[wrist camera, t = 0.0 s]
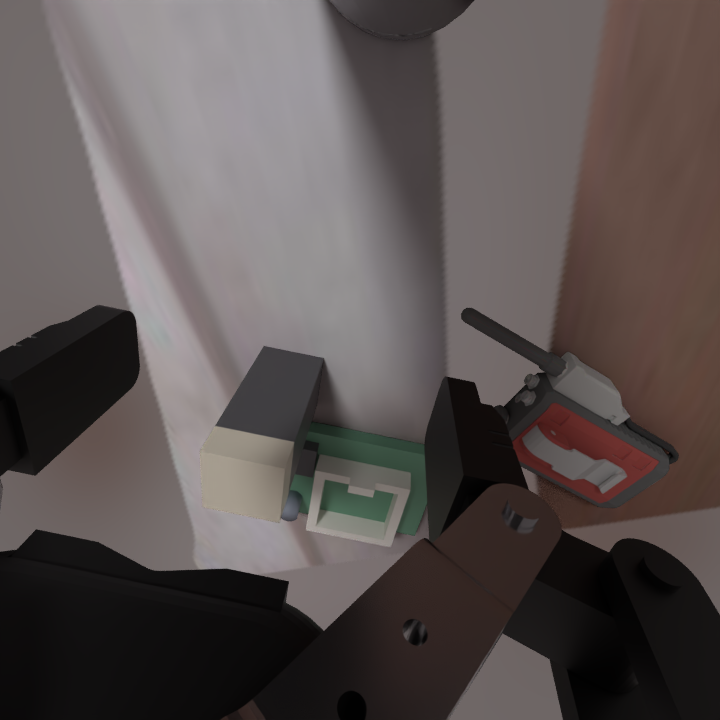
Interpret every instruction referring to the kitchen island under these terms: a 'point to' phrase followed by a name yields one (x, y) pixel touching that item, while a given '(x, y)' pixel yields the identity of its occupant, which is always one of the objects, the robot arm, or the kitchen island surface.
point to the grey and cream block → (261, 436)
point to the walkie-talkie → (576, 426)
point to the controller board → (358, 485)
